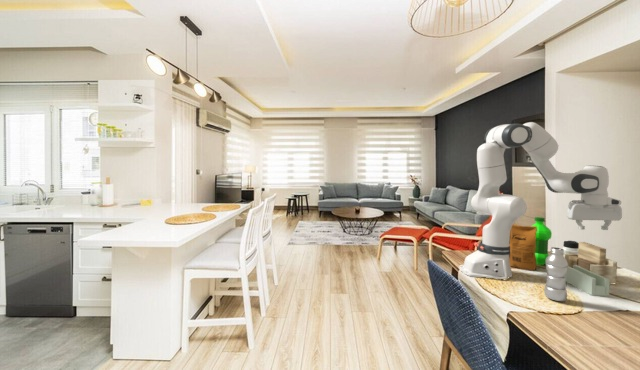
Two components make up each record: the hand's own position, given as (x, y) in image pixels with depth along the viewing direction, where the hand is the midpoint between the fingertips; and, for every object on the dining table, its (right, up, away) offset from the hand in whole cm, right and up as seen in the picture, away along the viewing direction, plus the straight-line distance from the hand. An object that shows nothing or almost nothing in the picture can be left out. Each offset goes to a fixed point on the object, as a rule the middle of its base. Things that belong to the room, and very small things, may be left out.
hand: (592, 229), depth 125 cm
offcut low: (-3, -22, +5) cm, 23 cm away
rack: (-2, -22, +1) cm, 22 cm away
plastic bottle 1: (-10, -22, +19) cm, 31 cm away
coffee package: (-23, -22, +14) cm, 35 cm away
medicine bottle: (+8, -22, +20) cm, 31 cm away
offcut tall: (-4, -23, -1) cm, 23 cm away
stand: (-15, -23, -11) cm, 30 cm away
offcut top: (-3, -17, +5) cm, 18 cm away
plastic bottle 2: (-37, -24, -22) cm, 50 cm away
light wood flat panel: (0, -22, +1) cm, 23 cm away
